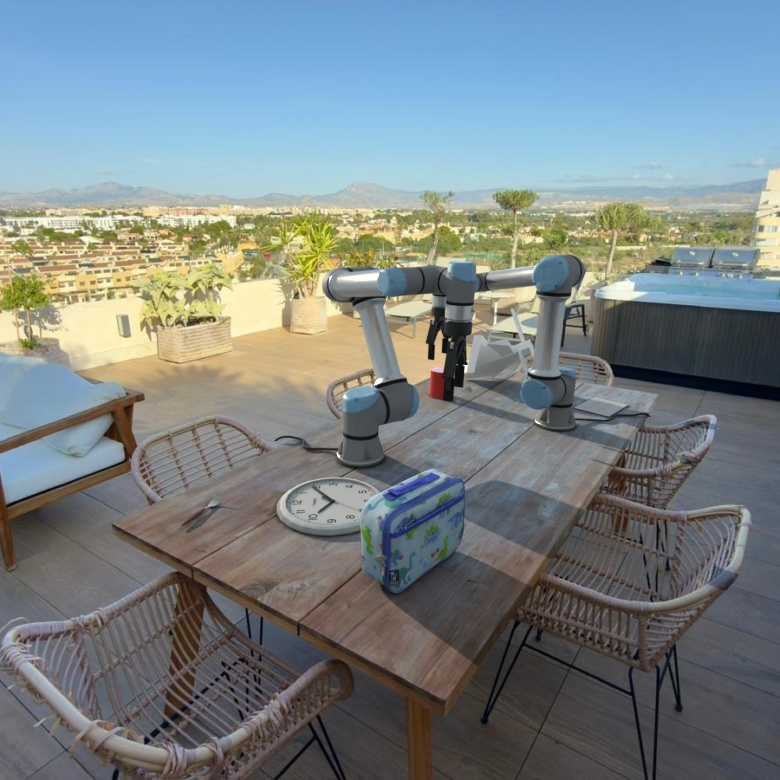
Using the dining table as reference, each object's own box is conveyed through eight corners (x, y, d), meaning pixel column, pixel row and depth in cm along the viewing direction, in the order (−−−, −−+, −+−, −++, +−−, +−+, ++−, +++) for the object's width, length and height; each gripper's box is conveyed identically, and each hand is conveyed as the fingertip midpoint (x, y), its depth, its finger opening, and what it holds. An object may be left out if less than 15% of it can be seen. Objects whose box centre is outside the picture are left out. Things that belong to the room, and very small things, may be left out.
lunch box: (388, 606, 105) (390, 514, 99) (353, 580, 112) (353, 493, 106) (468, 553, 123) (474, 472, 116) (433, 534, 130) (437, 457, 124)
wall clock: (392, 527, 129) (268, 531, 127) (391, 533, 130) (269, 537, 127) (383, 473, 158) (282, 475, 155) (383, 478, 158) (282, 480, 156)
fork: (176, 526, 131) (176, 519, 130) (217, 497, 145) (217, 491, 145) (185, 528, 130) (184, 521, 130) (225, 499, 145) (224, 492, 144)
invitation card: (608, 416, 214) (573, 407, 224) (608, 416, 214) (573, 408, 224) (628, 404, 229) (594, 396, 238) (628, 405, 229) (594, 397, 238)
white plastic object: (480, 421, 262) (459, 398, 238) (462, 347, 285) (440, 320, 260) (552, 397, 250) (537, 370, 226) (527, 322, 272) (511, 290, 248)
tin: (440, 391, 243) (441, 366, 240) (453, 396, 236) (454, 370, 233) (425, 394, 238) (426, 369, 235) (438, 400, 232) (439, 373, 228)
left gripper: (463, 329, 130) (457, 409, 137) (480, 313, 152) (474, 383, 159) (433, 326, 132) (429, 405, 139) (455, 311, 155) (450, 380, 161)
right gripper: (444, 301, 226) (442, 349, 233) (418, 309, 206) (416, 361, 212) (461, 303, 223) (457, 351, 229) (435, 310, 202) (433, 363, 209)
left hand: (453, 393), depth 149 cm, fingers open, 13 cm apart
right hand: (438, 356), depth 221 cm, fingers open, 13 cm apart
